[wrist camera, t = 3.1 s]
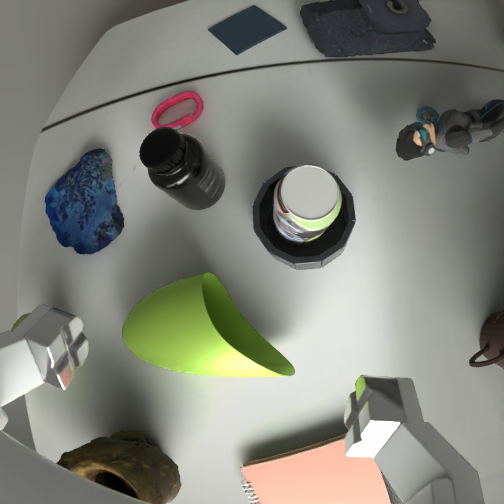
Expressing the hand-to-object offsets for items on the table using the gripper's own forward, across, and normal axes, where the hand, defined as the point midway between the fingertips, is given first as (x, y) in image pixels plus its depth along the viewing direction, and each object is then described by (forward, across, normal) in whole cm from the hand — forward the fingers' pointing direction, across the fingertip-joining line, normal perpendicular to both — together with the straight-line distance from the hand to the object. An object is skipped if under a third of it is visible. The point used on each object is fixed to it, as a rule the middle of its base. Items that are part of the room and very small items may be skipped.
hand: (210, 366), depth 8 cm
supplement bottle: (+34, +10, +5) cm, 36 cm away
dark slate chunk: (+50, -11, -24) cm, 56 cm away
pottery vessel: (+12, +13, +39) cm, 43 cm away
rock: (+34, +29, +10) cm, 46 cm away
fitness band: (+41, +16, -4) cm, 45 cm away
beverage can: (+30, -4, +7) cm, 31 cm away
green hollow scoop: (+23, +6, +20) cm, 31 cm away
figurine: (+37, -26, -10) cm, 46 cm away
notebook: (+7, -15, +38) cm, 41 cm away
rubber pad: (+51, +10, -20) cm, 55 cm away
